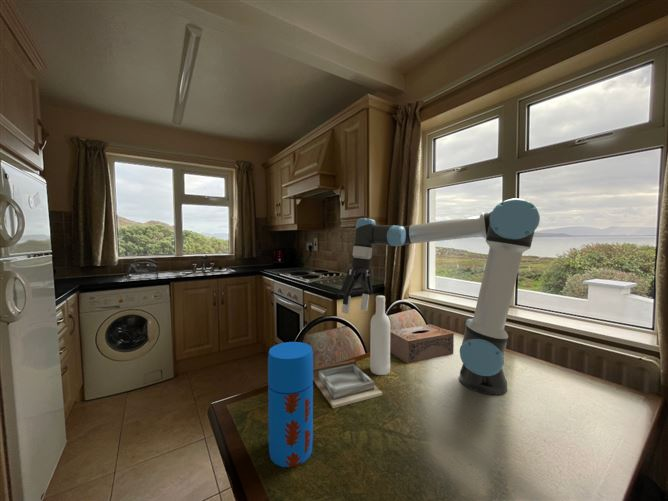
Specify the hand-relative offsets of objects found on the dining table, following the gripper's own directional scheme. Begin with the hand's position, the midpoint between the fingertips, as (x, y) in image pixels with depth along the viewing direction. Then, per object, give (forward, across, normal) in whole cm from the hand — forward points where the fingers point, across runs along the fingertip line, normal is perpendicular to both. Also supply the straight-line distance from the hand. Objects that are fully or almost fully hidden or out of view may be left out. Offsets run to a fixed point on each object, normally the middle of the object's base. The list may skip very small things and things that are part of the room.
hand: (355, 311), depth 105 cm
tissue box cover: (+20, -37, +16) cm, 45 cm away
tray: (+25, +8, +5) cm, 27 cm away
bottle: (+23, -10, +9) cm, 26 cm away
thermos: (+28, +40, +11) cm, 50 cm away
